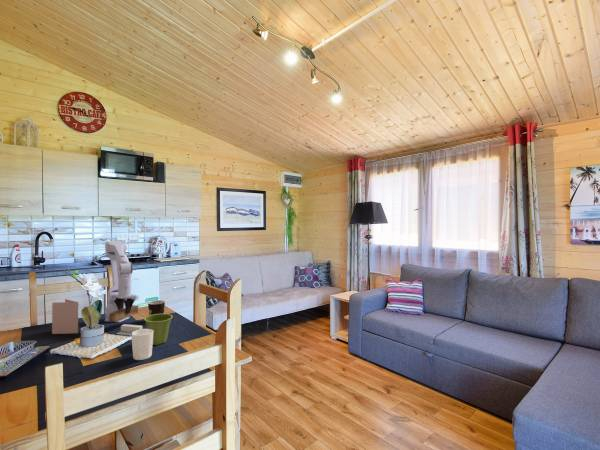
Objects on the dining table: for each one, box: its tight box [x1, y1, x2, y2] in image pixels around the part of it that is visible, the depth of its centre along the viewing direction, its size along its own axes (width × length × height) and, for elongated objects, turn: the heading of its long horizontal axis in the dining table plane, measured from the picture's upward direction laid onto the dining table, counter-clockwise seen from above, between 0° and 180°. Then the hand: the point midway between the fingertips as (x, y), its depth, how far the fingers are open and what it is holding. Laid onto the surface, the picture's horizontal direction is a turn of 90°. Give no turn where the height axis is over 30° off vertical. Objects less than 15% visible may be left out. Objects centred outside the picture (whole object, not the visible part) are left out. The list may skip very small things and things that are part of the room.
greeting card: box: [51, 299, 80, 335], centre depth 154 cm, size 11×7×15 cm, turn 63°
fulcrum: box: [115, 323, 144, 337], centre depth 157 cm, size 10×9×3 cm
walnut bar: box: [108, 304, 139, 323], centre depth 164 cm, size 4×16×4 cm, turn 169°
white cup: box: [131, 328, 153, 361], centre depth 129 cm, size 8×8×10 cm
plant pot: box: [143, 313, 173, 346], centre depth 145 cm, size 12×12×11 cm
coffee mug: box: [147, 299, 166, 316], centre depth 174 cm, size 12×9×10 cm
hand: (124, 312), depth 164 cm, fingers closed on walnut bar, 3 cm apart
